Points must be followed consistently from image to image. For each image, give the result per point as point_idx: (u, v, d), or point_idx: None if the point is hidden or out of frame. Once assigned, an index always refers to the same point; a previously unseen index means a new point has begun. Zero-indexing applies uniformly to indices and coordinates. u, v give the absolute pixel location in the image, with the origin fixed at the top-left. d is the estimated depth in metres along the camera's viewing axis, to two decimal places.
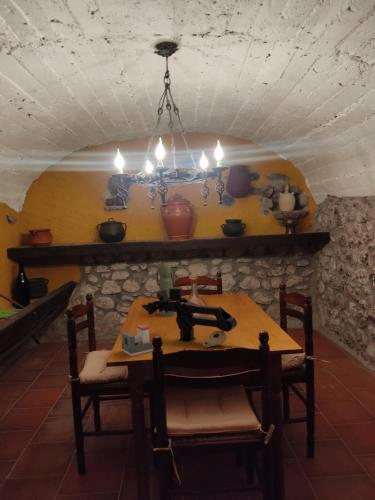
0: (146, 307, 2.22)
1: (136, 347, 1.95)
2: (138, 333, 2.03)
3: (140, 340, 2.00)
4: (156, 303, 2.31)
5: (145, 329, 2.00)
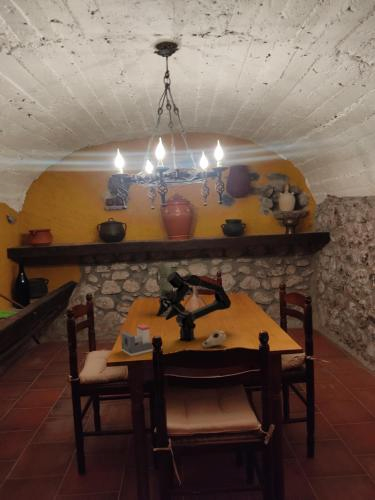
0: (172, 314, 2.05)
1: (136, 347, 1.95)
2: (138, 333, 2.03)
3: (140, 340, 2.00)
4: (161, 311, 2.13)
5: (145, 329, 2.00)
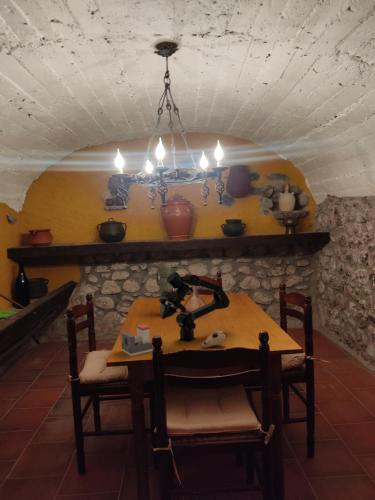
0: (168, 313, 2.08)
1: (136, 347, 1.95)
2: (138, 333, 2.03)
3: (140, 340, 2.00)
4: None
5: (145, 329, 2.00)
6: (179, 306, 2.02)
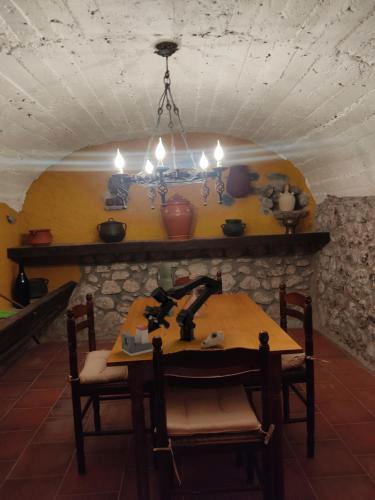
0: (152, 328, 2.03)
1: (136, 347, 1.95)
2: (137, 333, 2.02)
3: (139, 340, 2.00)
4: None
5: (144, 329, 1.99)
6: (162, 322, 1.97)
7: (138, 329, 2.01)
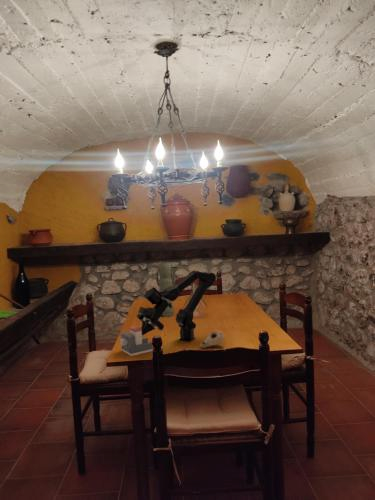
0: (146, 330, 2.02)
1: (136, 347, 1.95)
2: None
3: None
4: None
5: (138, 330, 1.97)
6: (156, 323, 1.95)
7: (132, 330, 1.99)
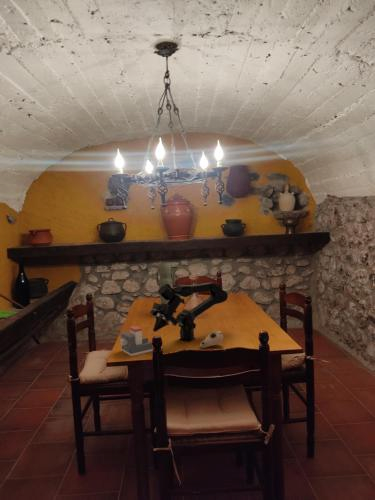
0: (160, 325, 2.06)
1: (136, 347, 1.95)
2: None
3: None
4: None
5: (138, 330, 1.97)
6: (170, 319, 2.00)
7: (132, 330, 1.99)
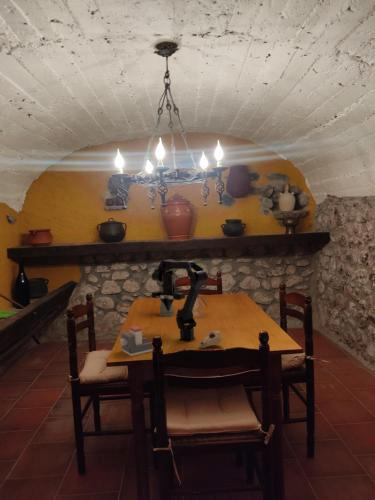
0: None
1: (136, 347, 1.95)
2: None
3: None
4: None
5: (138, 330, 1.97)
6: None
7: (132, 330, 1.99)
